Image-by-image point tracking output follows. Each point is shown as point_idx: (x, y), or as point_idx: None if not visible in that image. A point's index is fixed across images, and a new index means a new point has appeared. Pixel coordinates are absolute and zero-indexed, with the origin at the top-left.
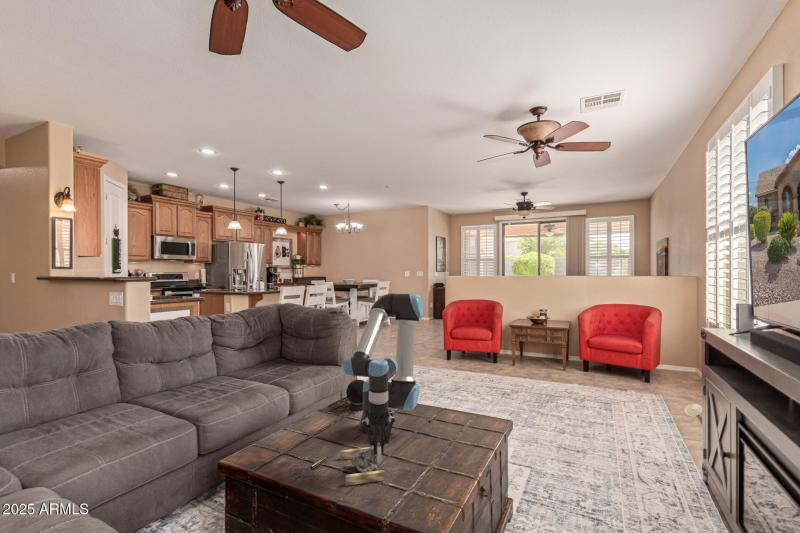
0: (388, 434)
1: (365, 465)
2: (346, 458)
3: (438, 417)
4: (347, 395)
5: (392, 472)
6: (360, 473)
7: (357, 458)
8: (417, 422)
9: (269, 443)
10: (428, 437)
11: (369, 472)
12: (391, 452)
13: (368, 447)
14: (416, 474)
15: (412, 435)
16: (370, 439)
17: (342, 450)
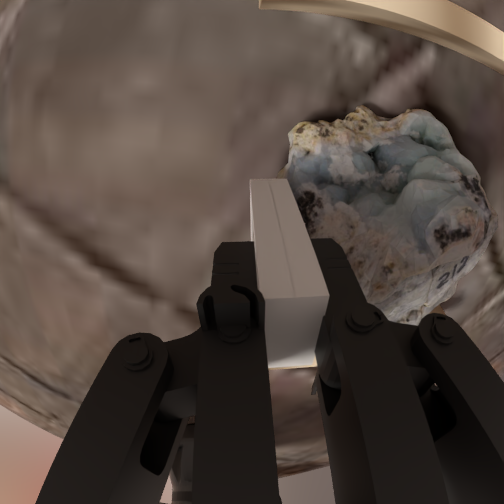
0: (79, 493)
1: (417, 146)
2: None
3: (40, 417)
4: (280, 500)
5: (163, 78)
6: (480, 40)
7: (490, 209)
8: None
9: (500, 372)
10: (25, 366)
11: (419, 10)
12: (153, 326)
13: (300, 366)
14: (12, 55)
15: (79, 392)
16: (486, 397)
17: None
